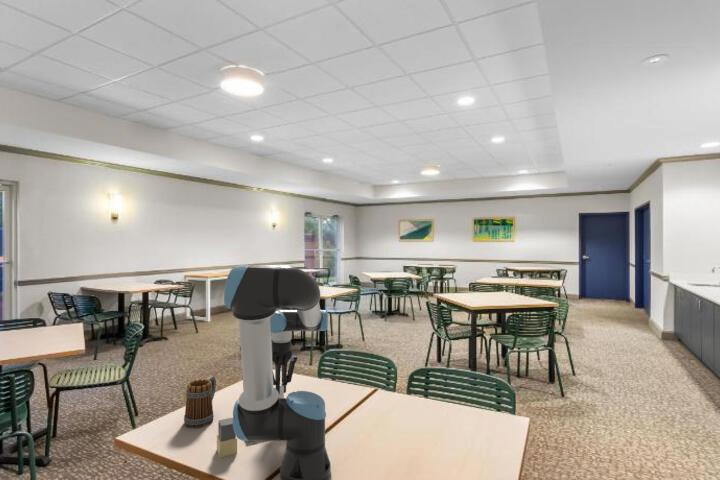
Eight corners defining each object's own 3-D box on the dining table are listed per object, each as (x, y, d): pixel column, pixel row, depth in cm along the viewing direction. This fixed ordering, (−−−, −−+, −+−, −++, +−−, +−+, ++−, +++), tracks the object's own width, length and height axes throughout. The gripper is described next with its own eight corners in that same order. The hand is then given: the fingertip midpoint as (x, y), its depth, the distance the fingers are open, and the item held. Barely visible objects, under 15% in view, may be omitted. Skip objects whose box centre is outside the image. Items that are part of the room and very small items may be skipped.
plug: (237, 453, 131) (237, 423, 131) (219, 457, 128) (220, 426, 128) (233, 446, 135) (233, 416, 135) (216, 450, 133) (217, 420, 133)
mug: (203, 429, 147) (203, 389, 147) (177, 426, 149) (178, 386, 149) (225, 411, 162) (226, 375, 162) (202, 409, 164) (202, 373, 164)
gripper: (293, 336, 161) (293, 395, 161) (262, 340, 154) (261, 401, 154) (300, 340, 155) (300, 401, 154) (267, 344, 148) (267, 408, 148)
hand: (280, 401), depth 154 cm, fingers closed
